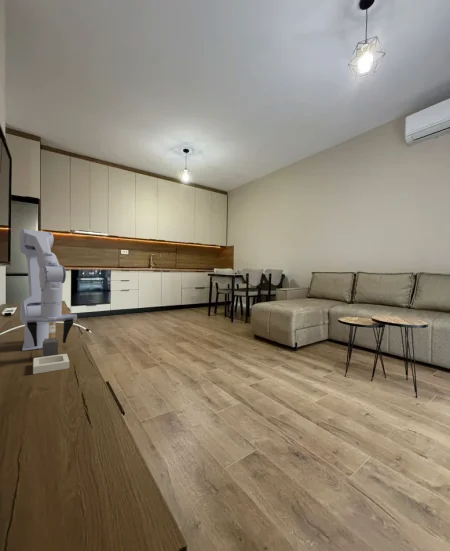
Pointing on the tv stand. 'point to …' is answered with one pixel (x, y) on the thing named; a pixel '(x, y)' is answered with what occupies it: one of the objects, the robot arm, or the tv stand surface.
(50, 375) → the tv stand surface
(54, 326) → the sprinkles bottle
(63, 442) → the tv stand surface
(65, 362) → the socket block
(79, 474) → the tv stand surface
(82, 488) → the tv stand surface
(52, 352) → the stepped grey plug block
